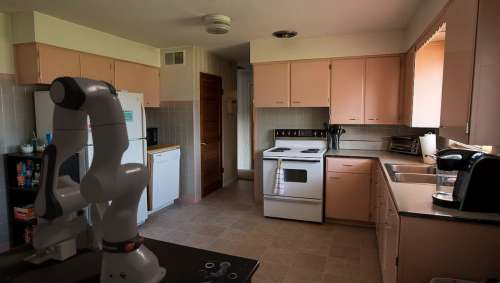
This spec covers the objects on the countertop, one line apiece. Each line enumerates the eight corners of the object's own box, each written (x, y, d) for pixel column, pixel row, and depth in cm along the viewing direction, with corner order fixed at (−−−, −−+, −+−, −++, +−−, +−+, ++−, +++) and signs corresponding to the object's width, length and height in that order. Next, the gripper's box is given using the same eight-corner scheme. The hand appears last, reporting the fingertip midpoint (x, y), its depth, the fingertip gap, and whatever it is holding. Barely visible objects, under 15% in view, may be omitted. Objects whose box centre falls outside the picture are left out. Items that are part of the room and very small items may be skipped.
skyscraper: (103, 241, 132) (100, 179, 129) (116, 244, 128) (113, 181, 126) (86, 248, 124) (82, 184, 122) (98, 252, 121) (95, 186, 118)
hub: (58, 254, 119) (57, 243, 118) (37, 264, 111) (36, 251, 111) (44, 251, 122) (43, 240, 121) (23, 260, 114) (22, 248, 114)
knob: (76, 253, 118) (75, 237, 117) (62, 260, 112) (60, 243, 112) (65, 251, 120) (64, 235, 119) (51, 258, 114) (49, 241, 114)
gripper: (38, 226, 104) (42, 264, 105) (88, 208, 123) (91, 240, 124) (26, 224, 106) (30, 261, 107) (77, 207, 125) (80, 238, 126)
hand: (63, 250), depth 116 cm, fingers closed on knob, 6 cm apart
